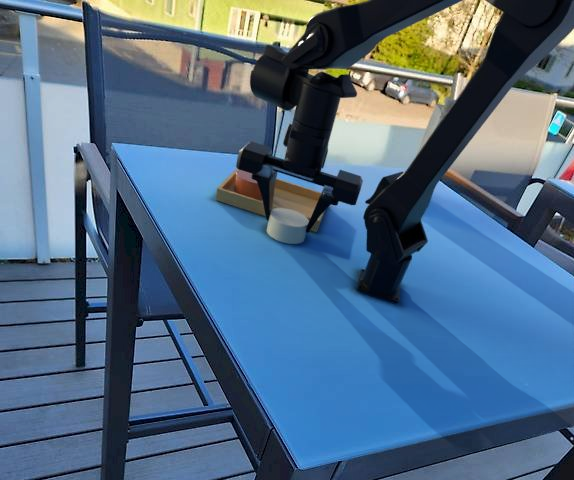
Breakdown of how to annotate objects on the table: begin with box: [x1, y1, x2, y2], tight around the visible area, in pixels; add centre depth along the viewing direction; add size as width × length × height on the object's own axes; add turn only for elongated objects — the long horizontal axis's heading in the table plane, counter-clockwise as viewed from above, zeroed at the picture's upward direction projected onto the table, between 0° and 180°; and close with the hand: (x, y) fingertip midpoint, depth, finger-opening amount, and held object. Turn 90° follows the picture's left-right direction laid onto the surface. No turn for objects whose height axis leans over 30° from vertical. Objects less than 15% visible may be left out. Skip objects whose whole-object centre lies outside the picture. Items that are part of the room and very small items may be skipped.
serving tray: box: [215, 167, 326, 233], centre depth 88 cm, size 13×18×2 cm
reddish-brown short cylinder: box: [234, 170, 262, 200], centre depth 87 cm, size 6×6×3 cm
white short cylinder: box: [266, 208, 309, 245], centre depth 79 cm, size 6×6×3 cm
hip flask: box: [413, 97, 456, 160], centre depth 101 cm, size 16×4×20 cm, turn 170°
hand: (287, 225), depth 79 cm, fingers closed on white short cylinder, 6 cm apart
